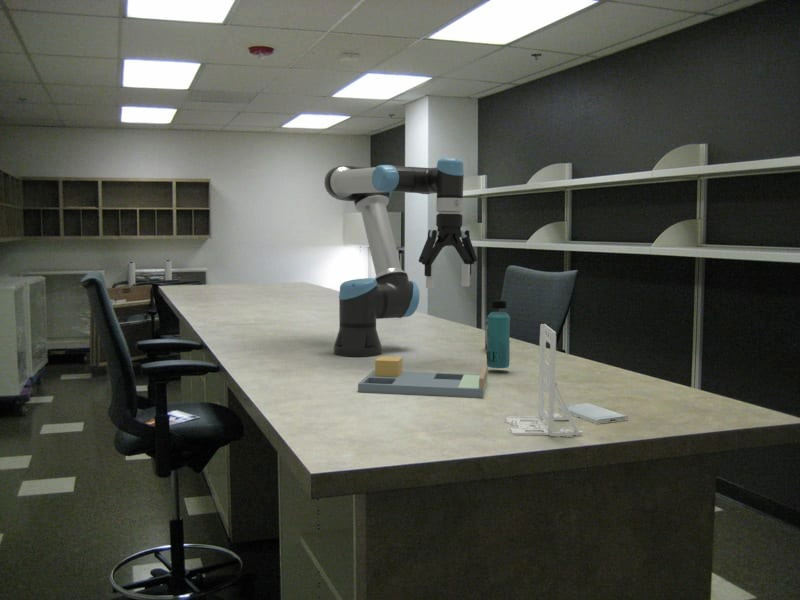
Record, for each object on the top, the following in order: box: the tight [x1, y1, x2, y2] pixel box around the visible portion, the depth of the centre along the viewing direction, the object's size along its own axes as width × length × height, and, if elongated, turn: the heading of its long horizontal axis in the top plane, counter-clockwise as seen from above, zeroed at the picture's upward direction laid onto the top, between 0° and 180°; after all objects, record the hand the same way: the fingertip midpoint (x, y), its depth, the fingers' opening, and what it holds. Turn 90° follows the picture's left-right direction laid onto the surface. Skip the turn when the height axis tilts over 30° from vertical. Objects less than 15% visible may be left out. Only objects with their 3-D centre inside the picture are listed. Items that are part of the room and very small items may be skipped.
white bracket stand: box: [503, 323, 584, 438], centre depth 148 cm, size 14×14×20 cm
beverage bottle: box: [486, 299, 511, 369], centre depth 207 cm, size 6×7×20 cm
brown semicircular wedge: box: [484, 318, 488, 353], centre depth 242 cm, size 12×6×10 cm, turn 179°
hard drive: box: [558, 402, 629, 425], centre depth 159 cm, size 2×8×12 cm
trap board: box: [357, 364, 489, 399], centre depth 186 cm, size 30×18×4 cm, turn 80°
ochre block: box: [374, 355, 403, 377], centre depth 192 cm, size 6×6×4 cm
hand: (448, 287), depth 217 cm, fingers open, 13 cm apart
